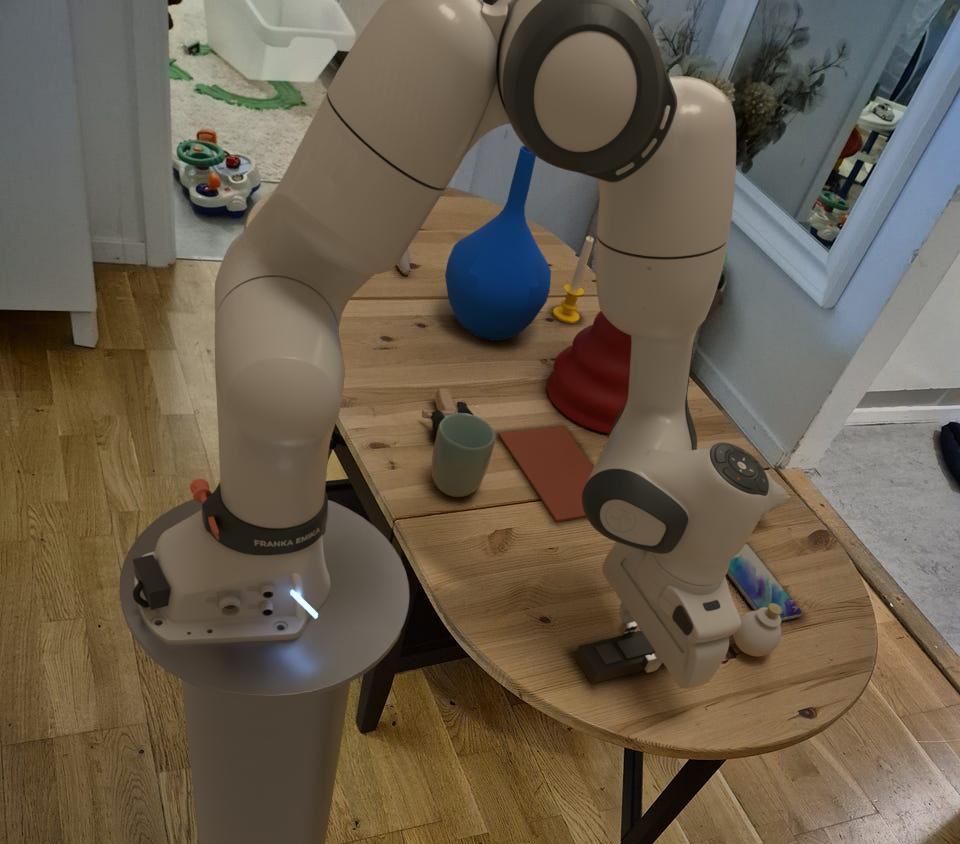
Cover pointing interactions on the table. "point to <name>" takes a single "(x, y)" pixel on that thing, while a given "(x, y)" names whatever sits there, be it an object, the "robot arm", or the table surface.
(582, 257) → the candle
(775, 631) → the ornament
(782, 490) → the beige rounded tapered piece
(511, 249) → the vase
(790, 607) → the smartphone
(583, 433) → the table surface
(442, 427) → the cup
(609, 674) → the remote
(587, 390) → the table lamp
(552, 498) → the mat
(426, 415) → the toy figure
